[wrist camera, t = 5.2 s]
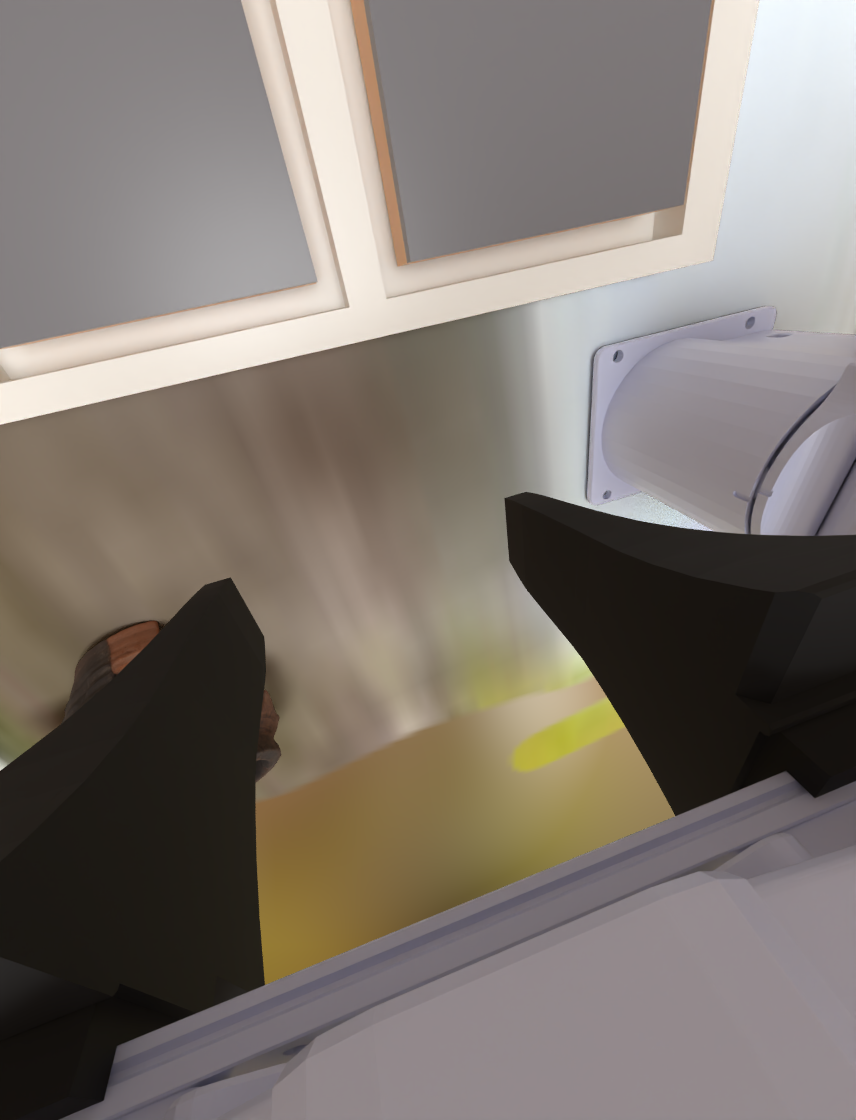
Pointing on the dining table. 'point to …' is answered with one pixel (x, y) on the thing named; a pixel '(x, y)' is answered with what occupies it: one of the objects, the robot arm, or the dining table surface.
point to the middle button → (136, 166)
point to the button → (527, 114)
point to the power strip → (379, 231)
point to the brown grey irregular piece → (120, 651)
